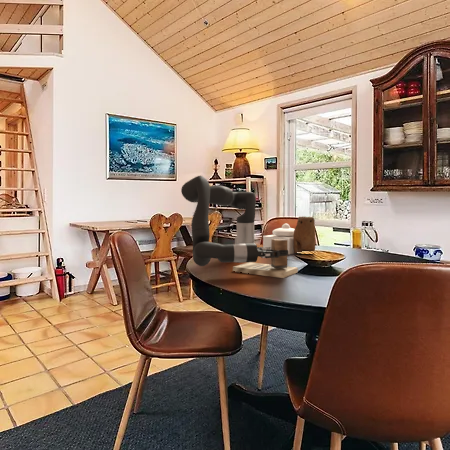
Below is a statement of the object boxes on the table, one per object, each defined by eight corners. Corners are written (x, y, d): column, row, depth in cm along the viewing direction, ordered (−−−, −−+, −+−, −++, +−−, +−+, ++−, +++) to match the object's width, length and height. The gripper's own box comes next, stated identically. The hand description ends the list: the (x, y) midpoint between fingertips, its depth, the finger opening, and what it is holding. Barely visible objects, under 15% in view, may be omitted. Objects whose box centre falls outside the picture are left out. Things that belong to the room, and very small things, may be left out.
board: (232, 271, 159) (232, 266, 159) (249, 266, 170) (249, 262, 170) (283, 278, 146) (283, 272, 146) (297, 272, 157) (297, 267, 156)
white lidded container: (289, 254, 204) (289, 225, 203) (262, 251, 216) (262, 223, 215) (307, 251, 217) (307, 223, 215) (280, 248, 229) (280, 221, 228)
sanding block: (274, 268, 151) (275, 240, 150) (271, 266, 156) (271, 239, 155) (287, 267, 152) (287, 240, 151) (283, 265, 157) (283, 238, 156)
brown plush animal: (312, 253, 208) (313, 216, 207) (315, 255, 201) (316, 217, 199) (292, 253, 208) (293, 216, 207) (295, 255, 201) (295, 217, 199)
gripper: (248, 245, 144) (291, 244, 147) (240, 241, 158) (280, 240, 161) (248, 265, 144) (291, 264, 147) (240, 259, 158) (280, 258, 161)
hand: (285, 251), depth 154 cm, fingers closed on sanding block, 5 cm apart
